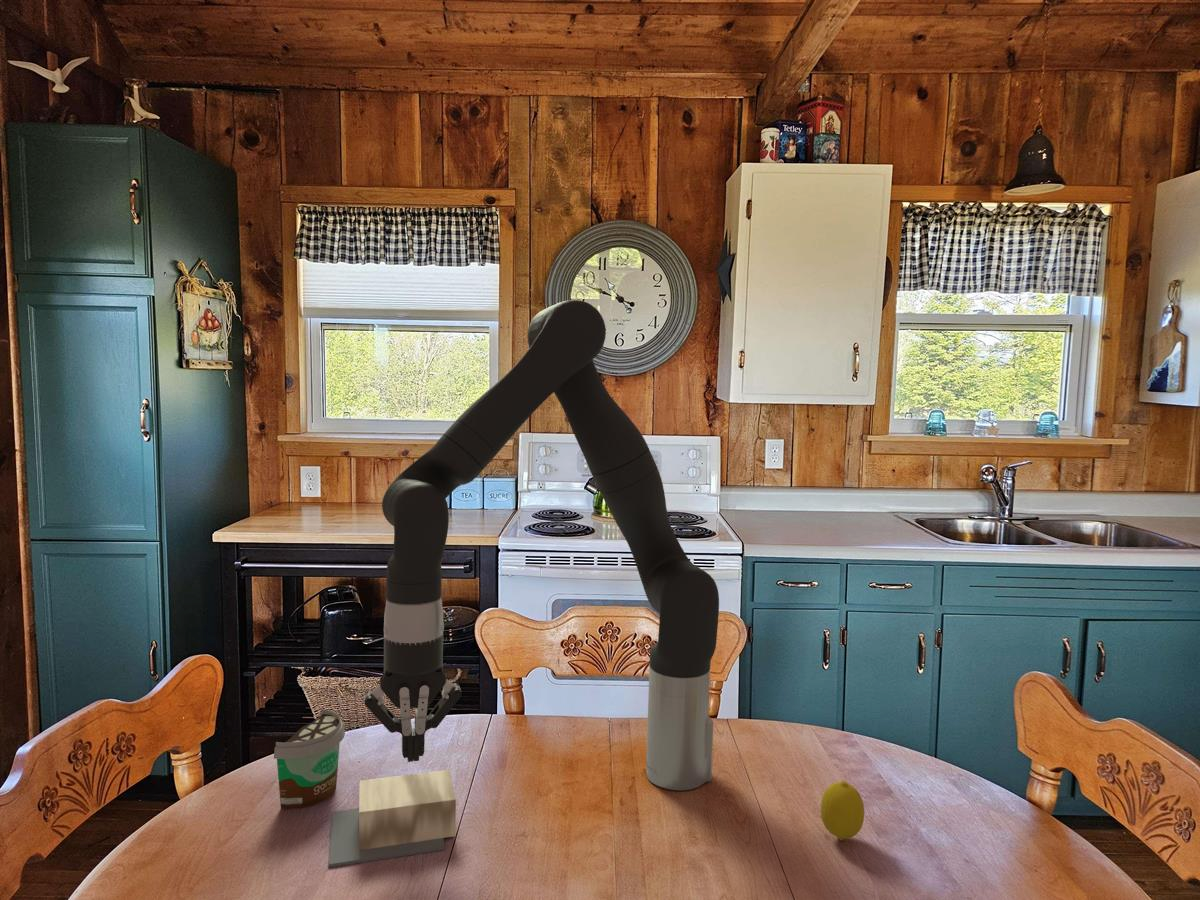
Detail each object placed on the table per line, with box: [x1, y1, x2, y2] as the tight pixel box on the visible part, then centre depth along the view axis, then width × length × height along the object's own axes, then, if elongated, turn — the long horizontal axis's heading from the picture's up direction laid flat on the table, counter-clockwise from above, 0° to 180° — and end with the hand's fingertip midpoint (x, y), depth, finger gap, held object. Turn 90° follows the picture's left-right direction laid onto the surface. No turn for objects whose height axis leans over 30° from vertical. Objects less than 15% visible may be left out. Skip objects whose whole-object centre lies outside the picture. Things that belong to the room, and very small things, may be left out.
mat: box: [328, 807, 446, 868], centre depth 101 cm, size 14×12×1 cm
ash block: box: [358, 769, 457, 850], centre depth 102 cm, size 5×8×12 cm
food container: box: [273, 708, 346, 810], centre depth 110 cm, size 12×6×10 cm, turn 168°
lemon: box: [820, 780, 865, 840], centre depth 102 cm, size 6×6×8 cm
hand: (412, 758), depth 102 cm, fingers closed
